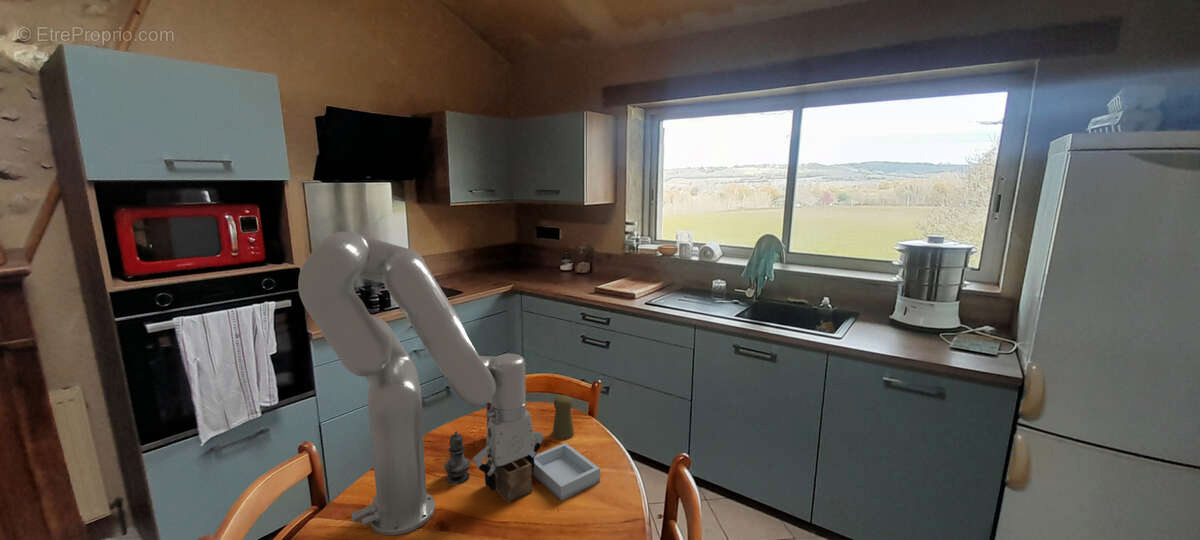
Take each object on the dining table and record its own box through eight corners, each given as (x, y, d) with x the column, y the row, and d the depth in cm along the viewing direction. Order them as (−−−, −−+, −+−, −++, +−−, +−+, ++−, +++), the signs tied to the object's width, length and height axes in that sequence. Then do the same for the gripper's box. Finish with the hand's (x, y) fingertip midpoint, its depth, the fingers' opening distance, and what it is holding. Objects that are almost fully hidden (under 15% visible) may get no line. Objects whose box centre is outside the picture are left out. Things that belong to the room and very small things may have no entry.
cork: (573, 440, 128) (573, 402, 126) (551, 439, 128) (550, 402, 126) (574, 428, 134) (574, 392, 132) (553, 428, 134) (553, 392, 132)
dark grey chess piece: (463, 487, 108) (461, 439, 106) (440, 483, 109) (437, 436, 107) (475, 472, 114) (473, 426, 111) (452, 468, 115) (450, 423, 113)
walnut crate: (508, 503, 103) (507, 474, 101) (489, 483, 109) (488, 455, 108) (532, 492, 106) (531, 464, 105) (512, 473, 113) (512, 447, 112)
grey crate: (561, 501, 104) (561, 486, 103) (528, 471, 114) (528, 457, 114) (599, 481, 110) (600, 468, 110) (565, 455, 121) (565, 442, 120)
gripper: (480, 429, 96) (482, 503, 99) (550, 405, 107) (551, 473, 110) (464, 414, 102) (467, 486, 105) (533, 393, 113) (534, 458, 116)
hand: (510, 479), depth 108 cm, fingers open, 9 cm apart
